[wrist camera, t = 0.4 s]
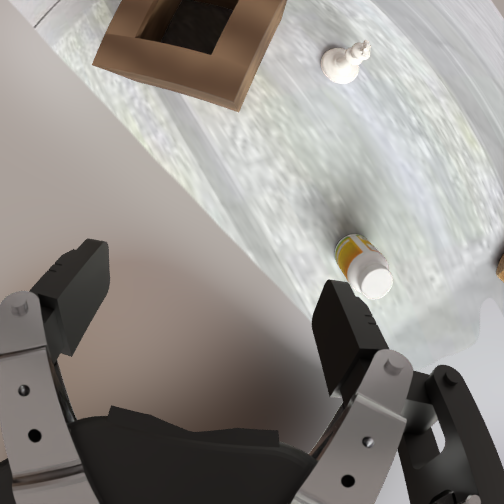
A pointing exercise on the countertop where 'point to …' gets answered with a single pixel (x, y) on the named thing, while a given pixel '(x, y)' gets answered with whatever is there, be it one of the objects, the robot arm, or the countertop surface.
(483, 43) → the countertop surface
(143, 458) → the robot arm
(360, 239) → the supplement bottle
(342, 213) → the countertop surface
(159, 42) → the walnut box
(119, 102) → the countertop surface
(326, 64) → the chess piece
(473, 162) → the countertop surface
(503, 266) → the tan fabric boot shape
